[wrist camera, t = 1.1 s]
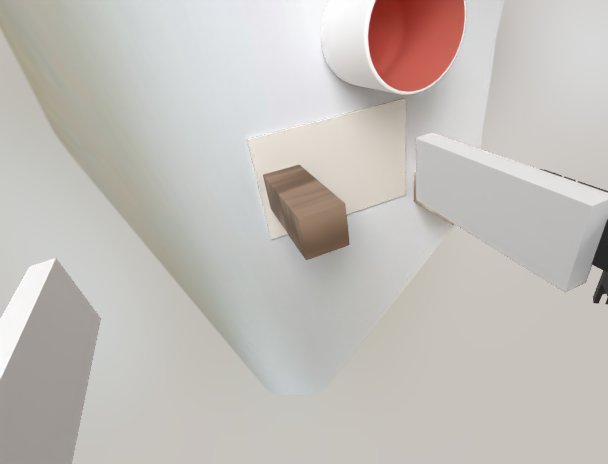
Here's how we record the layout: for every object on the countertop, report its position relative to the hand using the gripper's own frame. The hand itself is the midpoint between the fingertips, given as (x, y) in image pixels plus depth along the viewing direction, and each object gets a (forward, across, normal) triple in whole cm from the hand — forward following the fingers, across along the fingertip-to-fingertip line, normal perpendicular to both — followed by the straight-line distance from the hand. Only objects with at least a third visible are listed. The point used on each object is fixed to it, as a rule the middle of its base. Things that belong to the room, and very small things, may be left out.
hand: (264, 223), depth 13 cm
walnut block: (+26, +7, -11) cm, 29 cm away
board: (+26, +14, -11) cm, 32 cm away
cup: (+27, +19, +3) cm, 33 cm away
